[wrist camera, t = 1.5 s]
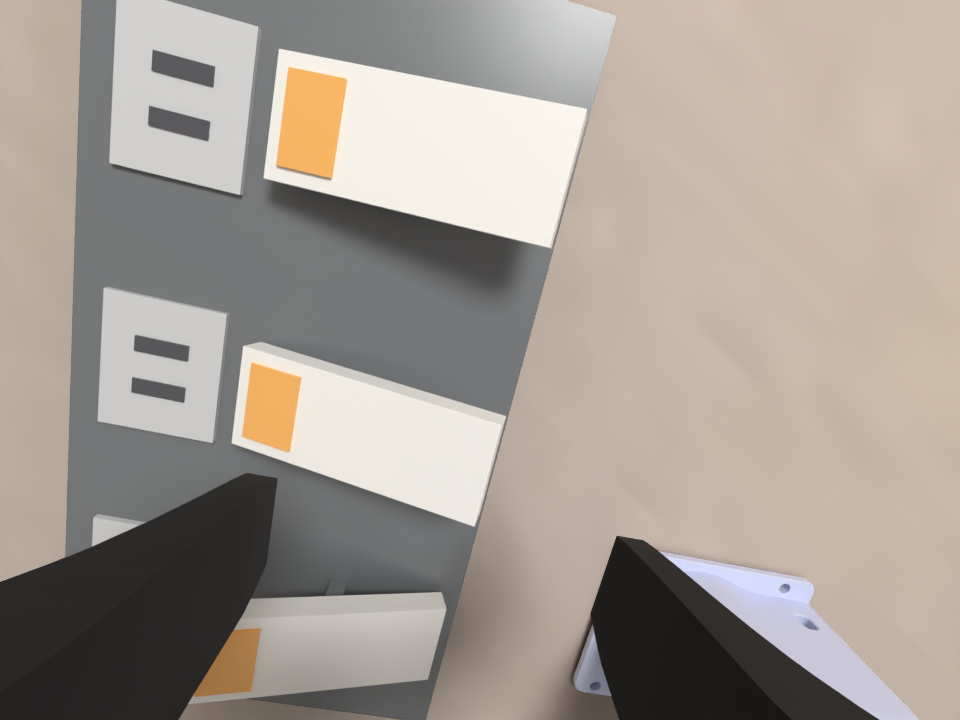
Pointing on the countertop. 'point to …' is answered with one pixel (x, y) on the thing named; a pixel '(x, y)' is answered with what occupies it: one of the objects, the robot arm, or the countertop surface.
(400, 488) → the rocker middle
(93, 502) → the power strip
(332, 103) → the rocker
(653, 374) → the countertop surface
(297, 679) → the rocker
